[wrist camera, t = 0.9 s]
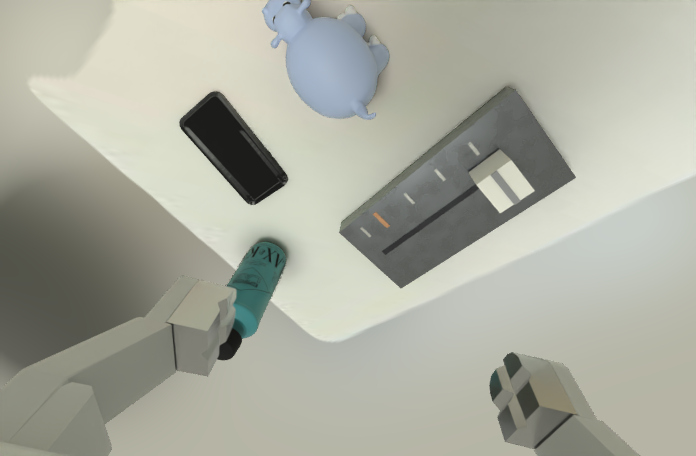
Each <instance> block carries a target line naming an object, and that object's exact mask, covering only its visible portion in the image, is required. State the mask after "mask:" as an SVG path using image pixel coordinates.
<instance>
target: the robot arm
mask: <svg viewBox="0 0 696 456" xmlns="http://www.w3.org/2000/svg"><path fill="white" fill-rule="evenodd" d="M235 300H236V289H235V288H231V287H227V286H223V285H219V284H215V283H212V282H207V281H204V280H199V279H195V278H191V277H187V276H182V277H180V278H178V279H177V280H176V281H175V282H174V284H173V285H172V286H171V287H170V288H169V290H168V291H167V292H166V293H165V294H164V295H163V297H162V298H161V299H160V300H159V301H158V302H157V304H156V305H155V306H154V307H153V308H152V310H151V311H150V312H149V313H148V314H147V315H146V316H145V318H142V317H137V318H135V319H133V320H130V321H128V322H126V323H124V324H122V325H119V326H117V327H115V328H113V329H111V330H108V331H106V332H104V333H101V334H99V335H97V336H95V337H93V338H90V339H88V340H86V341H84V342H82V343H79V344H77V345H75V346H73V347H70V348H68V349H66V350H64V351H62V352H59V353H57V354H55V355H53V356H50V357H48V358H46V359H44V360H42V361H39V362H37V363H35V364H33V365H31V366H28V367H26V368H24V369H22V370H21V371H20V372H19V373H18V374H17V375H15V376H14V377H13V378H12V379H11V380H10V381H9V382H8V383H7V384H6V385H5V386H4V387H2V388H1V389H0V456H108V455H109V453H110V452H111V450H112V447H111V442H110V439H109V436H108V433H107V430H106V427H105V424H106V423H107V422H108V421H110V420H111V419H113V418H114V417H115V416H117V415H118V414H119V413H121V412H122V411H124V410H125V409H126V408H127V407H129V406H130V405H131V404H133V403H135V402H136V401H137V400H139V399H140V398H141V397H143V396H144V395H145V394H147V393H148V392H150V391H151V390H152V389H153V388H155V387H156V386H158V385H159V384H161V383H162V382H163V381H165V380H166V379H167V378H169V377H170V376H171V375H173V374H174V373H175V372H176V370H177V371H182V372H187V373H193V374H198V375H203V376H208V375H209V373H210V371H211V370H212V368H213V366H214V364H215V362H216V360H217V358H218V356H219V346H220V345H221V344H223V343H225V342H226V340H227V338H228V336H229V334H230V332H231V329H232V326H233V324H234V319H235V312H236V309H235V308H234V306H233V303H234V302H235ZM503 361H504V366H502V367H499V368H497V369H496V370H495V371H494V373H493V374H492V376H491V380H490V394H491V397H492V401H493V402H494V404H495V405H496V406H497V407H498V408H499V410H500V412H499V415H498V421H499V424H500V427H501V430H502V434H503V437H504V440H505V442H508V443H512V444H516V445H520V446H524V447H528V448H532V449H535V450H534V451H535V453H536V454H537V455H538V456H640V455H639V454H637V453H636V452H635V451H634V450H633V449H632V448H631V447H630V446H629V445H627V443H626V442H625V441H623V440H622V439H621V438H620V437H619V436H618V435H617V434H616V433H615V432H614V431H613V430H612V429H611V428H609V427H608V426H607V425H606V424H605V423H604V422H603V421H599V420H597V418H596V416H595V415H594V413H593V411H592V409H591V408H590V406H589V404H588V402H587V401H586V399H585V397H584V395H583V394H582V392H581V390H580V389H579V387H578V385H577V383H576V381H575V379H574V378H573V376H572V374H571V373H570V371H569V369H568V368H567V367H566V366H565V365H564V364H563V363H559V362H554V361H550V360H544V359H540V358H536V357H531V356H527V355H523V354H518V353H513V352H511V353H509V354H507V355H506V357H505V358H504V359H503Z"/></svg>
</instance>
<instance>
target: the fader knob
mask: <svg viewBox="0 0 696 456" xmlns="http://www.w3.org/2000/svg"><path fill="white" fill-rule="evenodd" d="M468 173H469V174H470V176H471V178H472V179H473V181H474V182H475V184H476V185H477V186H478V188H479V189H480V190H481V191H482V192H483V194H484V195H485V196H486V197H487V198H488V200H489V201H490V202H491V203H492V204H493V206H494V207H495V208H496V209H497V210H498V212H499V213H502V212H503V211H505V210H506V209H508V208H509V207H511V206H512V205H516V204H517V203H519V202H520V200H522V199H523V198H525V197H526V196H528V195H529V194H531V193H532V192H534V191H535V190H534V189H533V188H532V186H531V185H530V184H529V183H528V181H527V180H526V179H525V177H524V176H523V175H522V173H521V172H520V171H519V169H518V168H517V167H516V165H515V164H514V163H513V161H512V160H511V159H510V158H509V157H508V156H507V155H506V154H504V153H503V152H502V151H501V150H500V149H499V150H498V151H497V152H495V153H494V154H493V155H491V156H490V157H488V158H487V159H486V160H484V161H483V162H482V163H480V164H479V165H478V166H476V167H475V168H474V169H472V170H471V171H470V172H468Z"/></svg>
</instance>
